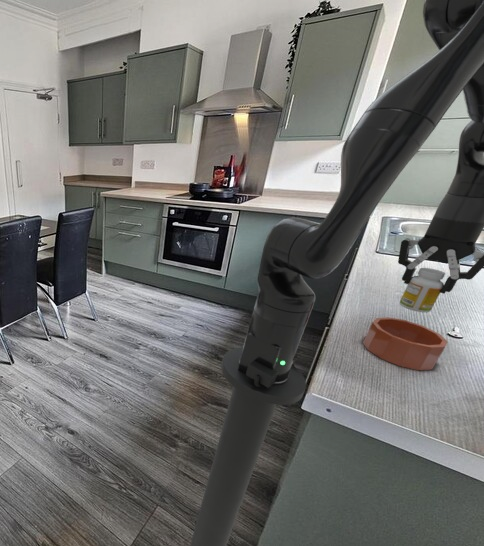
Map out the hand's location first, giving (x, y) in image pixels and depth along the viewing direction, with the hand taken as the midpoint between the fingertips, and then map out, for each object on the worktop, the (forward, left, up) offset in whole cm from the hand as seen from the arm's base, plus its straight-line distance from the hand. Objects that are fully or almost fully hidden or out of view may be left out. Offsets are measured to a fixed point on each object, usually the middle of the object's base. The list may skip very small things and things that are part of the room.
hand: (424, 287), depth 73 cm
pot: (-11, -2, -13) cm, 17 cm away
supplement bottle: (0, 0, -6) cm, 6 cm away
